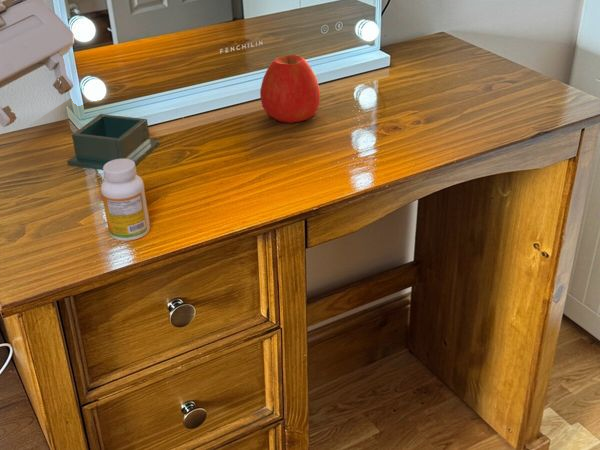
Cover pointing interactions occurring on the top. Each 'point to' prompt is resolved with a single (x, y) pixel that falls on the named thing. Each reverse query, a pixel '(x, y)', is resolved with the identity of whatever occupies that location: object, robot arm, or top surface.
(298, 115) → the apple
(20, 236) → the top surface
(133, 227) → the supplement bottle
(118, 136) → the bottle holder
